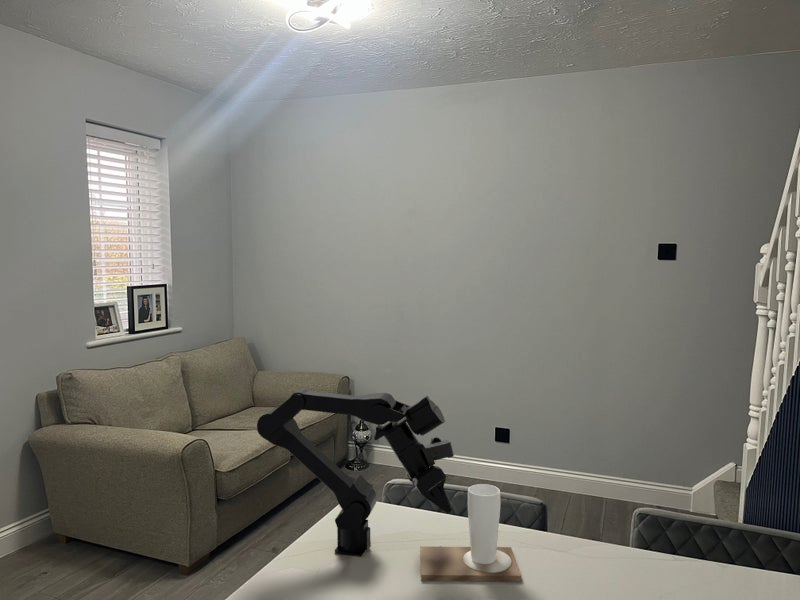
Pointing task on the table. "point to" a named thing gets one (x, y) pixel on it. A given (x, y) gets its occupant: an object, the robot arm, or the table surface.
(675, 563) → the table surface
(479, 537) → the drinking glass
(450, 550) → the walnut board
